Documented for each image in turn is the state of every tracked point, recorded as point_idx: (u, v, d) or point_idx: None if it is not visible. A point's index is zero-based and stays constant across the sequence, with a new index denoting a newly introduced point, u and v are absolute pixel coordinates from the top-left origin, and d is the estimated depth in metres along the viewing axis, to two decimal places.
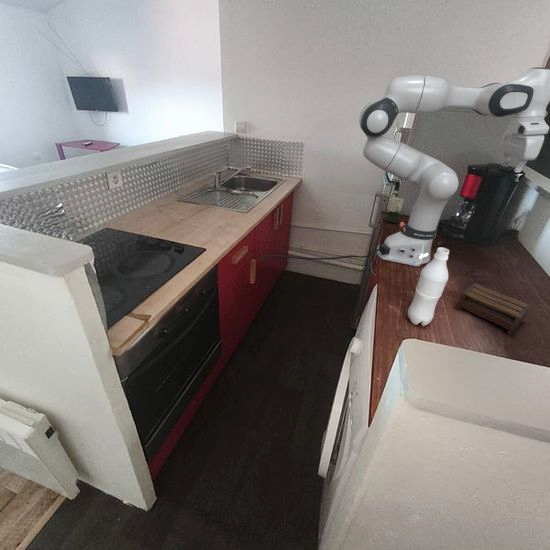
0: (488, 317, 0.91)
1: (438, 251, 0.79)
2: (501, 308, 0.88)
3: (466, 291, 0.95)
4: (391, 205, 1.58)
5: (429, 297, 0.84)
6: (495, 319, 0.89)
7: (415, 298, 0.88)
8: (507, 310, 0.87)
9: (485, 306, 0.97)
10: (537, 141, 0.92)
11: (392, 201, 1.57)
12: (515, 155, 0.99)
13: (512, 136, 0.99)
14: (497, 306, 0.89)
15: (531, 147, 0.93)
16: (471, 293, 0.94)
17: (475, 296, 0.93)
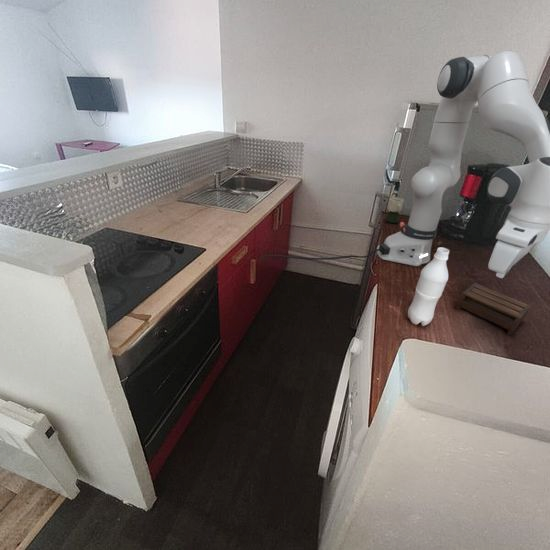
0: (488, 317, 0.91)
1: (438, 251, 0.79)
2: (501, 308, 0.88)
3: (466, 291, 0.95)
4: (391, 205, 1.58)
5: (429, 297, 0.84)
6: (495, 319, 0.89)
7: (415, 298, 0.88)
8: (507, 310, 0.87)
9: (485, 306, 0.97)
10: (507, 253, 0.69)
11: (392, 201, 1.57)
12: None
13: None
14: (497, 306, 0.89)
15: (498, 257, 0.71)
16: (471, 293, 0.94)
17: (475, 296, 0.93)
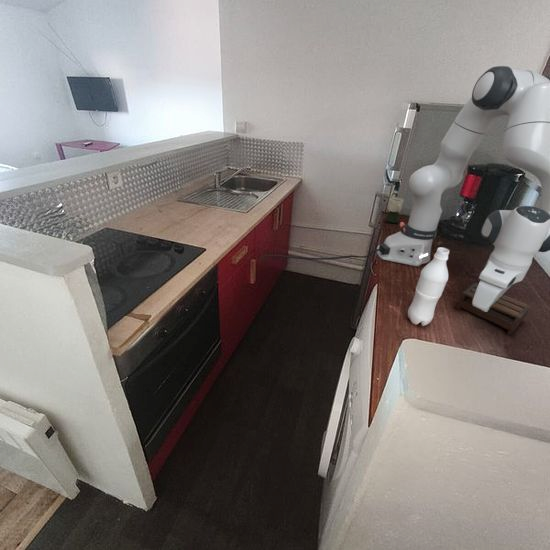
0: (488, 317, 0.91)
1: (438, 251, 0.79)
2: (501, 308, 0.88)
3: (466, 291, 0.95)
4: (391, 205, 1.58)
5: (429, 297, 0.84)
6: (495, 319, 0.89)
7: (415, 298, 0.88)
8: (507, 310, 0.87)
9: None
10: (489, 292, 0.75)
11: (392, 201, 1.57)
12: None
13: None
14: (497, 306, 0.89)
15: (481, 295, 0.76)
16: (471, 293, 0.94)
17: None
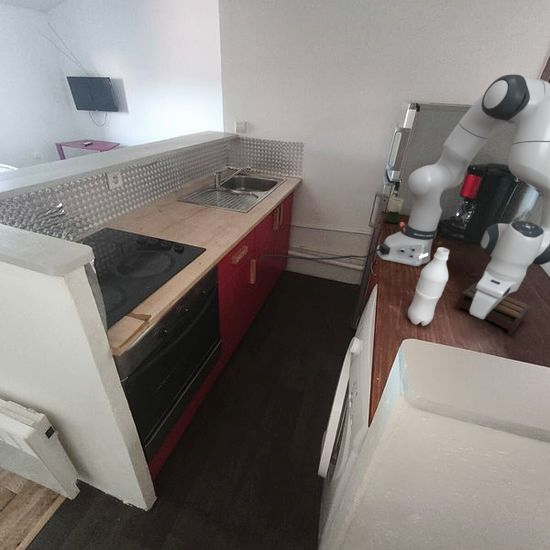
0: (488, 317, 0.91)
1: (438, 251, 0.79)
2: (501, 308, 0.88)
3: (466, 291, 0.95)
4: (391, 205, 1.58)
5: (429, 297, 0.84)
6: (495, 319, 0.89)
7: (415, 298, 0.88)
8: (507, 310, 0.87)
9: None
10: (485, 302, 0.79)
11: (392, 201, 1.57)
12: None
13: None
14: (497, 306, 0.89)
15: (477, 304, 0.81)
16: (471, 293, 0.94)
17: None
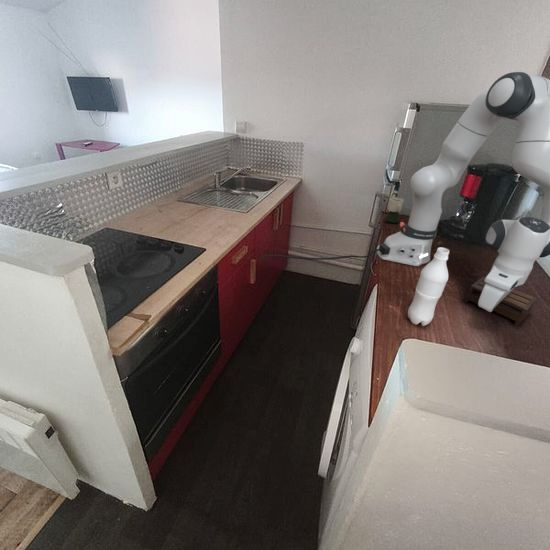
0: (496, 309, 0.94)
1: (438, 251, 0.79)
2: (508, 300, 0.92)
3: (474, 284, 0.99)
4: (391, 205, 1.58)
5: (429, 297, 0.84)
6: (503, 311, 0.93)
7: (415, 298, 0.88)
8: (515, 302, 0.91)
9: None
10: (493, 294, 0.83)
11: (392, 201, 1.57)
12: None
13: None
14: (505, 298, 0.92)
15: (486, 297, 0.85)
16: (479, 286, 0.98)
17: None
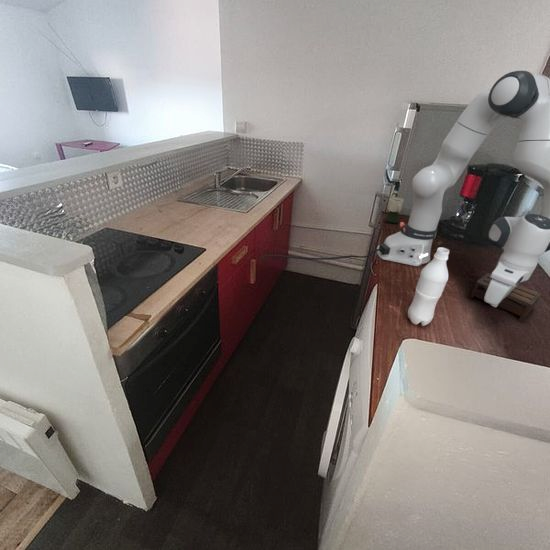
0: (501, 304, 0.96)
1: (438, 251, 0.79)
2: (513, 296, 0.94)
3: (479, 280, 1.01)
4: (391, 205, 1.58)
5: (429, 297, 0.84)
6: (508, 306, 0.95)
7: (415, 298, 0.88)
8: (520, 298, 0.93)
9: None
10: (499, 290, 0.85)
11: (392, 201, 1.57)
12: None
13: None
14: (510, 294, 0.95)
15: (492, 292, 0.87)
16: (484, 282, 1.00)
17: (488, 285, 0.99)
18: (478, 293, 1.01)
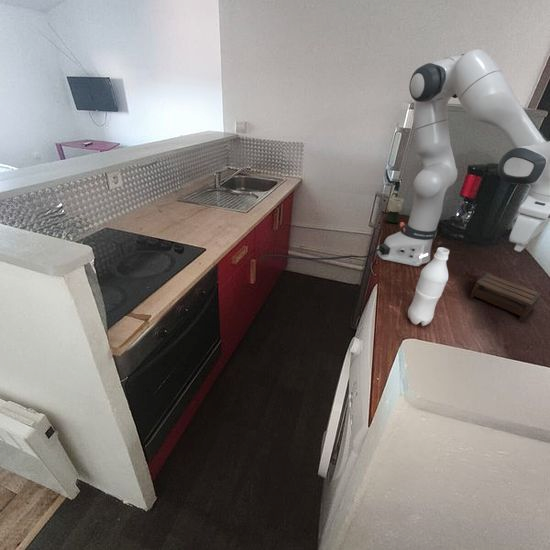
0: (501, 304, 0.96)
1: (438, 251, 0.79)
2: (513, 296, 0.94)
3: (479, 280, 1.01)
4: (391, 205, 1.58)
5: (429, 297, 0.84)
6: (508, 306, 0.95)
7: (415, 298, 0.88)
8: (519, 298, 0.93)
9: None
10: (528, 225, 0.75)
11: (392, 201, 1.57)
12: None
13: None
14: (509, 294, 0.95)
15: (519, 229, 0.76)
16: (484, 282, 1.00)
17: (488, 285, 0.99)
18: (478, 293, 1.01)
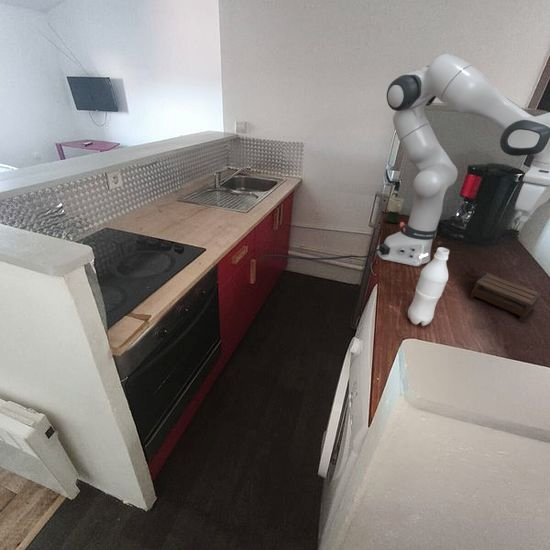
0: (501, 304, 0.96)
1: (438, 251, 0.79)
2: (513, 296, 0.94)
3: (479, 280, 1.01)
4: (391, 205, 1.58)
5: (429, 297, 0.84)
6: (508, 306, 0.95)
7: (415, 298, 0.88)
8: (519, 298, 0.93)
9: None
10: (533, 192, 0.78)
11: (392, 201, 1.57)
12: None
13: None
14: (509, 294, 0.95)
15: (524, 197, 0.79)
16: (484, 282, 1.00)
17: (488, 285, 0.99)
18: (478, 293, 1.01)
